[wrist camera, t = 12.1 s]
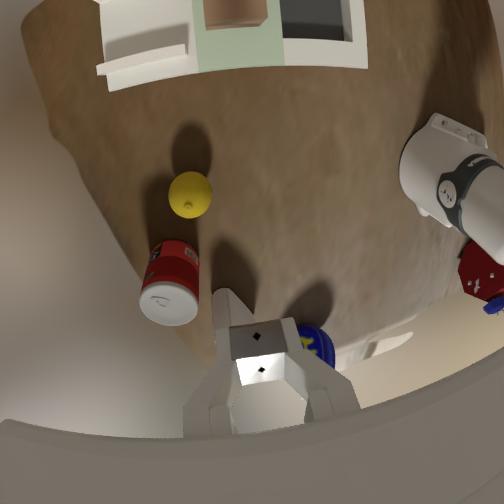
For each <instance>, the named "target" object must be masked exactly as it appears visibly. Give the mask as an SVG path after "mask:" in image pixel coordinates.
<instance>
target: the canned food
mask: <svg viewBox="0 0 504 504" xmlns="http://www.w3.org/2000/svg"><path fill="white" fill-rule="evenodd" d="M139 301H140V302H139V303H140V308H141V310H142V311H143V313H144V314H145V315H146V316H147V317H148V318H149V319H151V320H153V321H155V322H157V323H159V324H163V325H168V326H178V325H183V324H186V323H188V322H190V321H191V320H192V319H193V318H194V317H195V316H196V314H197V311H198V302H199V258H198V255H197V253H196V251H195V250H194V249H193V248H192V246H190V245H189V244H187V243H185V242H183V241H180V240H175V239H173V240H165V241H163V242H161V243H159V244H158V245H157V246H156V247H155V248H154V249H153V250H152V252H151V255H150V259H149V262H148V266H147V270H146V273H145V277H144V281H143V285H142V289H141V294H140V300H139Z"/></svg>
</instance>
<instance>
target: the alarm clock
mask: <svg viewBox="0 0 504 504" xmlns="http://www.w3.org/2000/svg"><path fill="white" fill-rule="evenodd" d="M458 273H459V276H460V279H461V282H462V285H463V289H464V292H465V293H467V294H469V295H472V296H474V297H477V298H479V299H481V300H483V301H486V302H489V303H488V304H487V305H485V306H484V307H483V308H484V311H485V312H486V313H487V314H494V313H495V314H496V313H497V315H498V313H499V312H502V311H503V312H504V310H503V308H504V265H501V264H499V263H497V262H496V261H495V260H494V259H493V258H492V257H491V256H490V255H489V254H488V253H487V252H486V251H485V250H484V249H483V248H482V247H481V246H480V245H479V244H477V243H476V242H475V241H474V240H473V241H472V242H470V243H469V244H468V245H466V246H465V248H464V251H463V255H462V258H461V261H460V265H459V267H458ZM501 309H502V310H501Z"/></svg>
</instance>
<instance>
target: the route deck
mask: <svg viewBox="0 0 504 504" xmlns="http://www.w3.org/2000/svg"><path fill="white" fill-rule="evenodd" d="M94 1H96V2H97V3H99V4H100V18H101V31H102V41H103V51H104V59H105V63H103V64H100V65H97V66H96V67H97V74H98V75H107V81H108V88H109V92H111V91H116V90H120V89H123V88H127V87H131V86H135V85H139V84H143V83H147V82H152V81H156V80H161V79H166V78H171V77H177V76H182V75H188V74H194V73H201V72H208V71H216V70H225V69H235V68H246V67H261V66H334V67H349V68H365V69H368V58H367V39H366V25H365V14H364V4H363V0H266V1H267V12H268V18H267V19H266V20H265V21H264V22H263V23H262V24H261V25H260V26H259V27H242V28H228V29H218V30H209V31H206V27H205V19H204V8H203V0H94Z"/></svg>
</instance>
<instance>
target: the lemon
mask: <svg viewBox="0 0 504 504" xmlns="http://www.w3.org/2000/svg"><path fill="white" fill-rule="evenodd" d="M168 197H169V203H170V205H171V208H172V209H173V211H174V212H175V213H176V214H178V215H179V216H181V217H184V218H195V217H198V216H200V215H201V214H203V213H204V212H205V211H206V210H207V208H208V207H209V205H210V202H211V199H212V188H211V185H210V183H209V181H208V179H207V178H206V177H205V176H203V175H202V174H200V173H198V172H192V171H189V172H184V173H182V174H180V175H179V176H177V177H176V178H175V179H174V181H173V182H172V183H171V186H170V188H169V195H168Z"/></svg>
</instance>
